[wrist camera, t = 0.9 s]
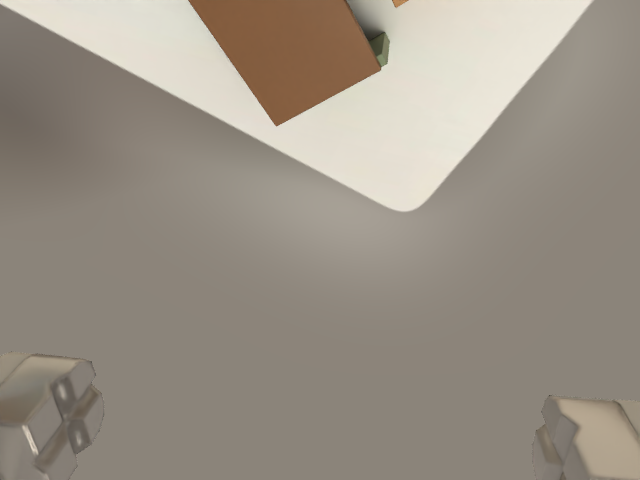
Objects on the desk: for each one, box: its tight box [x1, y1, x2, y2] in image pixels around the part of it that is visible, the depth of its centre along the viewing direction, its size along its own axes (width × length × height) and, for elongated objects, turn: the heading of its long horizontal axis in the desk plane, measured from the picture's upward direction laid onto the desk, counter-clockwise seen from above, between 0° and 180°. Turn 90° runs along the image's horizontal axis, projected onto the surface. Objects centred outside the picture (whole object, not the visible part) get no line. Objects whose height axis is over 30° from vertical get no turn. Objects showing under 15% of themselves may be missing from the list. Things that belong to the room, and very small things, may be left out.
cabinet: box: [188, 0, 390, 126], centre depth 38 cm, size 10×12×6 cm
